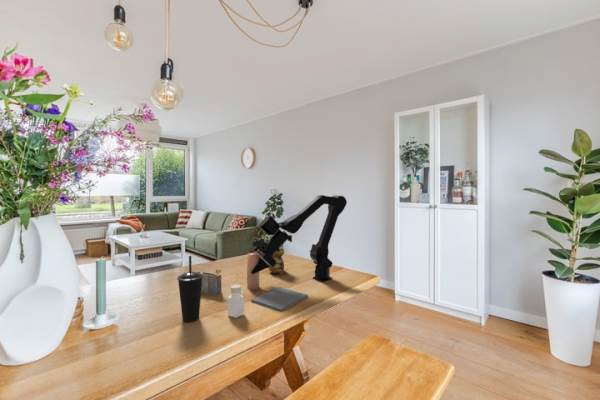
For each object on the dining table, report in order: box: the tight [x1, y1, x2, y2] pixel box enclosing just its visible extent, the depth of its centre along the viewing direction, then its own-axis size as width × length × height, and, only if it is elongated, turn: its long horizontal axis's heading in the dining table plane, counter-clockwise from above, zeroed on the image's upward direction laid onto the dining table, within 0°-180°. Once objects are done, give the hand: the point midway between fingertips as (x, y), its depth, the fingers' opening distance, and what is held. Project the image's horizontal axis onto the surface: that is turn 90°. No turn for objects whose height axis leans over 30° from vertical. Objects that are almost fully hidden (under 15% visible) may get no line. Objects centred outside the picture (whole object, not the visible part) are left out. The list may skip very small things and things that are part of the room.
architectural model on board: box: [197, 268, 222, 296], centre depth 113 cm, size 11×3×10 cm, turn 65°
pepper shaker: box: [227, 284, 245, 319], centre depth 92 cm, size 4×4×10 cm
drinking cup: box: [176, 255, 203, 323], centre depth 89 cm, size 8×8×20 cm
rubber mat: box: [251, 286, 309, 312], centre depth 106 cm, size 16×14×1 cm
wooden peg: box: [246, 252, 260, 291], centre depth 117 cm, size 5×5×14 cm
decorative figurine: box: [267, 244, 285, 275], centre depth 139 cm, size 10×8×15 cm
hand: (249, 271), depth 117 cm, fingers open, 7 cm apart
